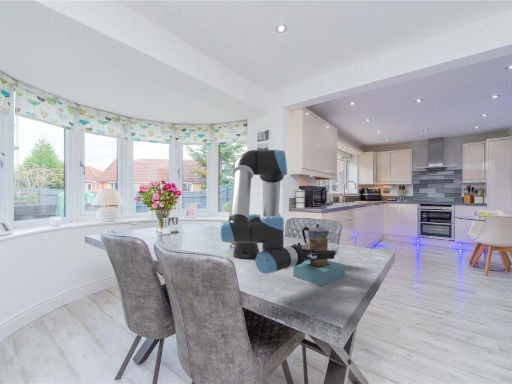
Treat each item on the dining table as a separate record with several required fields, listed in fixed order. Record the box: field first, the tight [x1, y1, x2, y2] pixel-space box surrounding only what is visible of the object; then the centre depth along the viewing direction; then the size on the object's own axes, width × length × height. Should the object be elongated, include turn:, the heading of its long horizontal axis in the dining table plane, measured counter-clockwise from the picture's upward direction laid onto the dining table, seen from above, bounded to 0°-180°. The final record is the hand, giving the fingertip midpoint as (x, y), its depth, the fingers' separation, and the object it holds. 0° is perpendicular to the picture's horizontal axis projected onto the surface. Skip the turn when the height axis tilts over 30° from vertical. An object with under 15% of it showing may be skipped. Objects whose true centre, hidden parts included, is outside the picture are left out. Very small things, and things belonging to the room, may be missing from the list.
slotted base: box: [292, 260, 345, 286], centre depth 104 cm, size 14×17×5 cm
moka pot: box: [301, 223, 330, 261], centre depth 124 cm, size 10×15×20 cm, turn 53°
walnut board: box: [310, 237, 329, 268], centre depth 104 cm, size 4×7×15 cm, turn 131°
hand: (323, 248), depth 106 cm, fingers open, 13 cm apart
